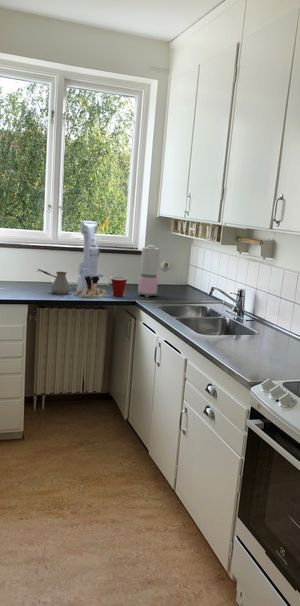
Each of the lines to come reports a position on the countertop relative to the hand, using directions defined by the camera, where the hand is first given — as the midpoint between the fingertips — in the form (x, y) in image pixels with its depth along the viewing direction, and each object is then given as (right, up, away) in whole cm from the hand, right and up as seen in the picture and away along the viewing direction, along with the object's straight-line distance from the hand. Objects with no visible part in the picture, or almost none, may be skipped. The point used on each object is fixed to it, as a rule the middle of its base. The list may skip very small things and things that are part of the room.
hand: (91, 288), depth 310 cm
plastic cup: (+16, -4, +7) cm, 18 cm away
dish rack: (0, -4, +1) cm, 4 cm away
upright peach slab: (0, -3, +1) cm, 3 cm away
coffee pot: (-23, -3, -2) cm, 23 cm away
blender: (+35, -4, +18) cm, 40 cm away
